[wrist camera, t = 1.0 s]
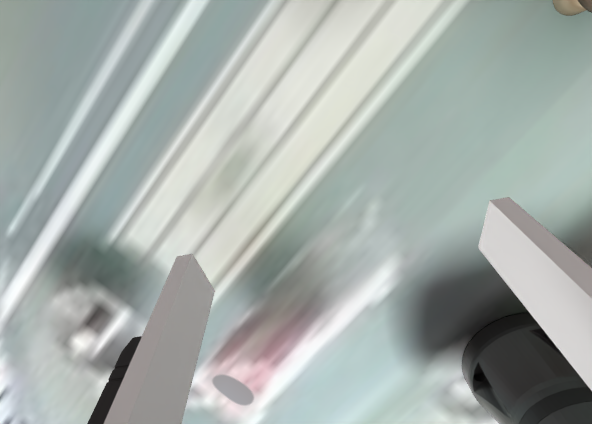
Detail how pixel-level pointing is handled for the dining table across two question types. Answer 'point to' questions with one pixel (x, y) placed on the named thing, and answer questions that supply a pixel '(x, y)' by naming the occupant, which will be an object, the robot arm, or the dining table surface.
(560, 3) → the beech peg
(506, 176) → the dining table surface
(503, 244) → the robot arm
